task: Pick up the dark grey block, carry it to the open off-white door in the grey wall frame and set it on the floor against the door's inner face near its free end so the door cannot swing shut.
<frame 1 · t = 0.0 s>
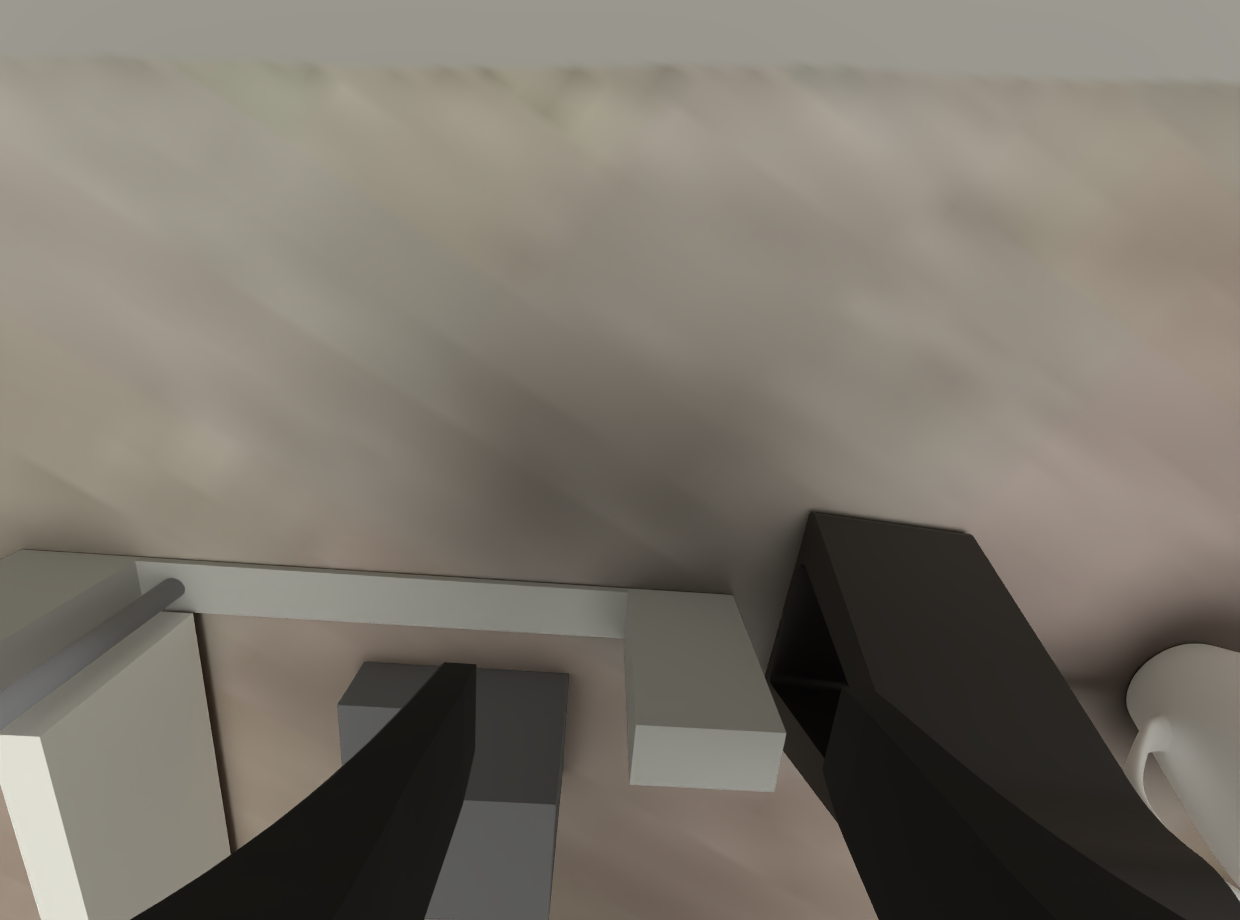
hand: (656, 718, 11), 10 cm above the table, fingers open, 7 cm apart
dark grey block: (504, 721, 24), on the table
phone stand: (853, 622, 23), on the table
wall: (625, 611, 22), on the table
mug: (1129, 682, 24), on the table
door: (120, 839, 21), point 3 cm above the table, hinge at 90.0°
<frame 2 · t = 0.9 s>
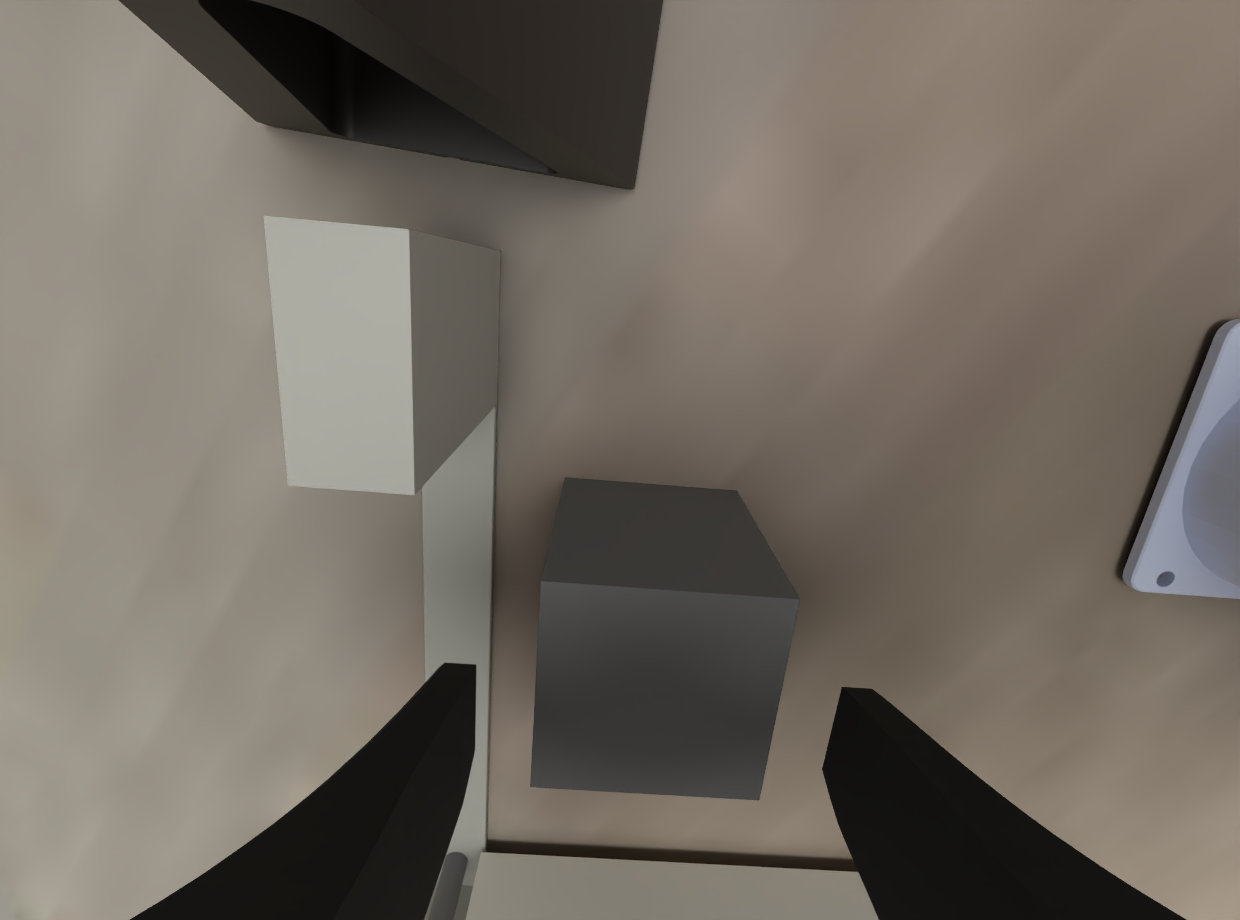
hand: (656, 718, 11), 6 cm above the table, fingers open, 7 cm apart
dark grey block: (643, 561, 18), on the table
phone stand: (465, 20, 14), on the table
wall: (460, 401, 16), on the table
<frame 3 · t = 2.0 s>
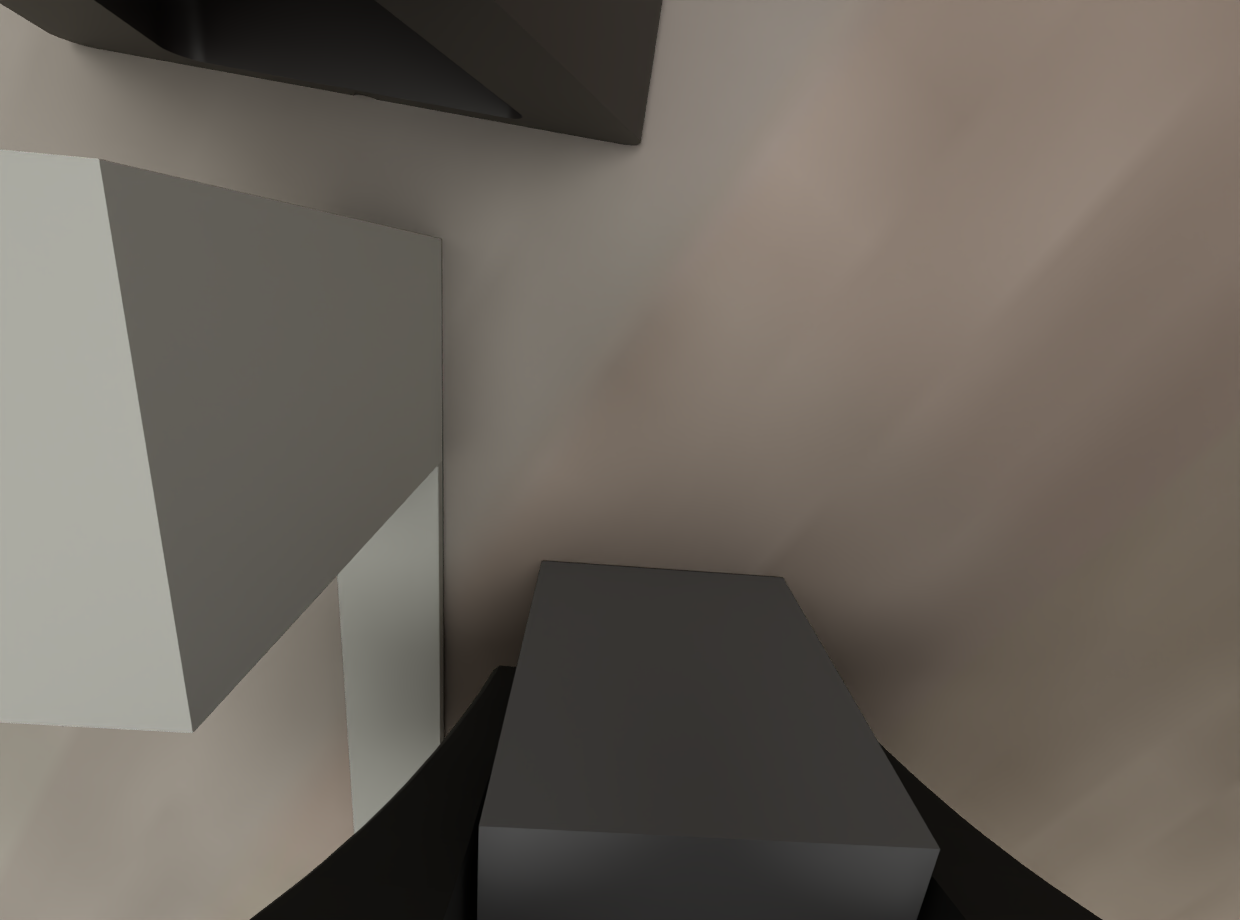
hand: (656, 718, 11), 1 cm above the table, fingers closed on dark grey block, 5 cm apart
dark grey block: (651, 671, 13), on the table, touching gripper
wall: (389, 456, 11), on the table
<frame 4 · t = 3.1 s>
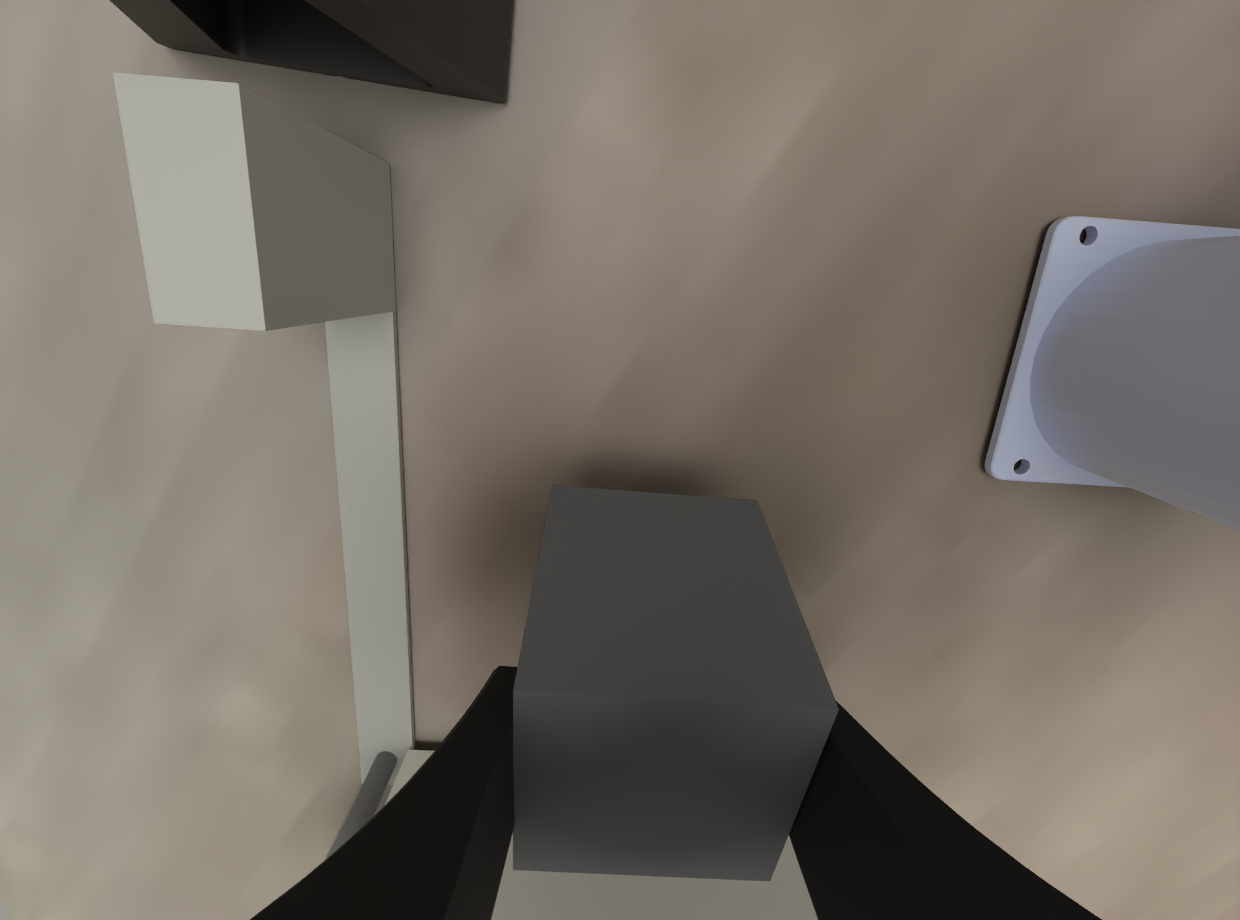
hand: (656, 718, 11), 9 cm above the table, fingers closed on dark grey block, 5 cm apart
dark grey block: (644, 573, 15), point 4 cm above the table, tilted 11°, touching gripper
wall: (362, 308, 17), on the table
door: (603, 862, 20), point 4 cm above the table, hinge at 90.0°
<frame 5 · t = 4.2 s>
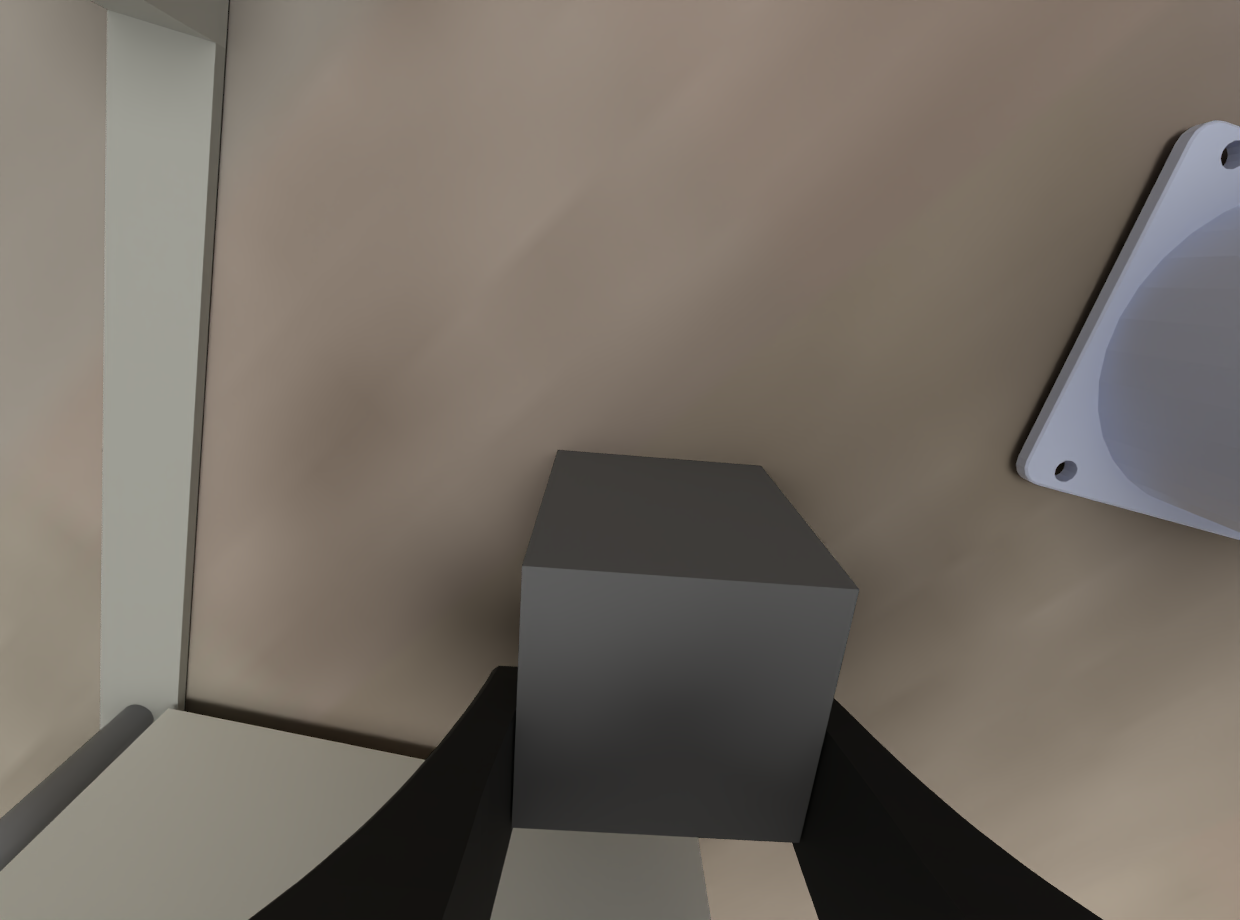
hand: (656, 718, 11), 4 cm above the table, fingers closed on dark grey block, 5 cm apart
dark grey block: (649, 549, 15), on the table, touching gripper
wall: (173, 32, 11), on the table
door: (396, 913, 14), point 3 cm above the table, hinge at 90.0°
when the fingers open (3 cm above the table, at t = 5.0 s): dark grey block stays where it is, on the table.
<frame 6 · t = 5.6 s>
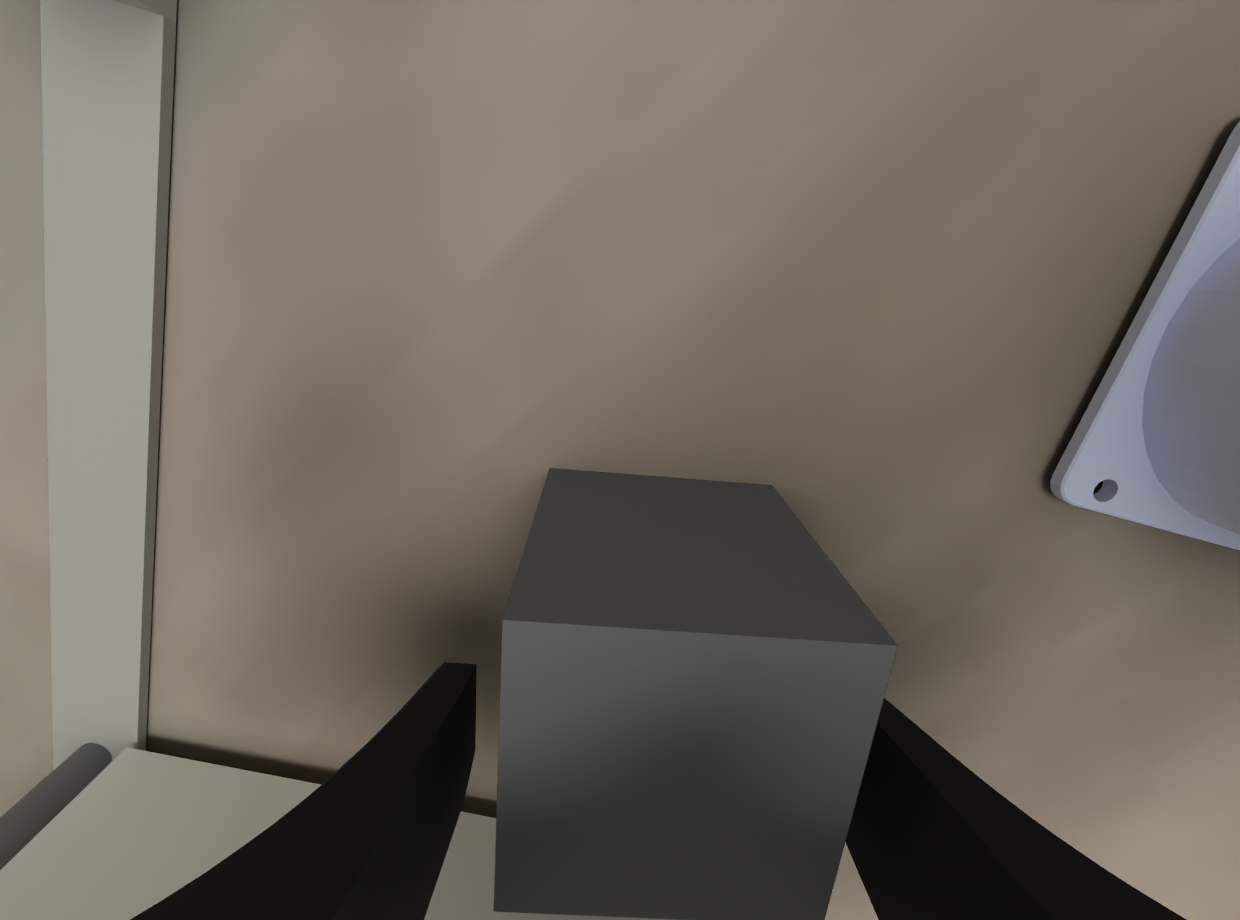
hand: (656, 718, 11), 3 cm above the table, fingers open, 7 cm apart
dark grey block: (650, 576, 14), on the table
wall: (116, 4, 10), on the table
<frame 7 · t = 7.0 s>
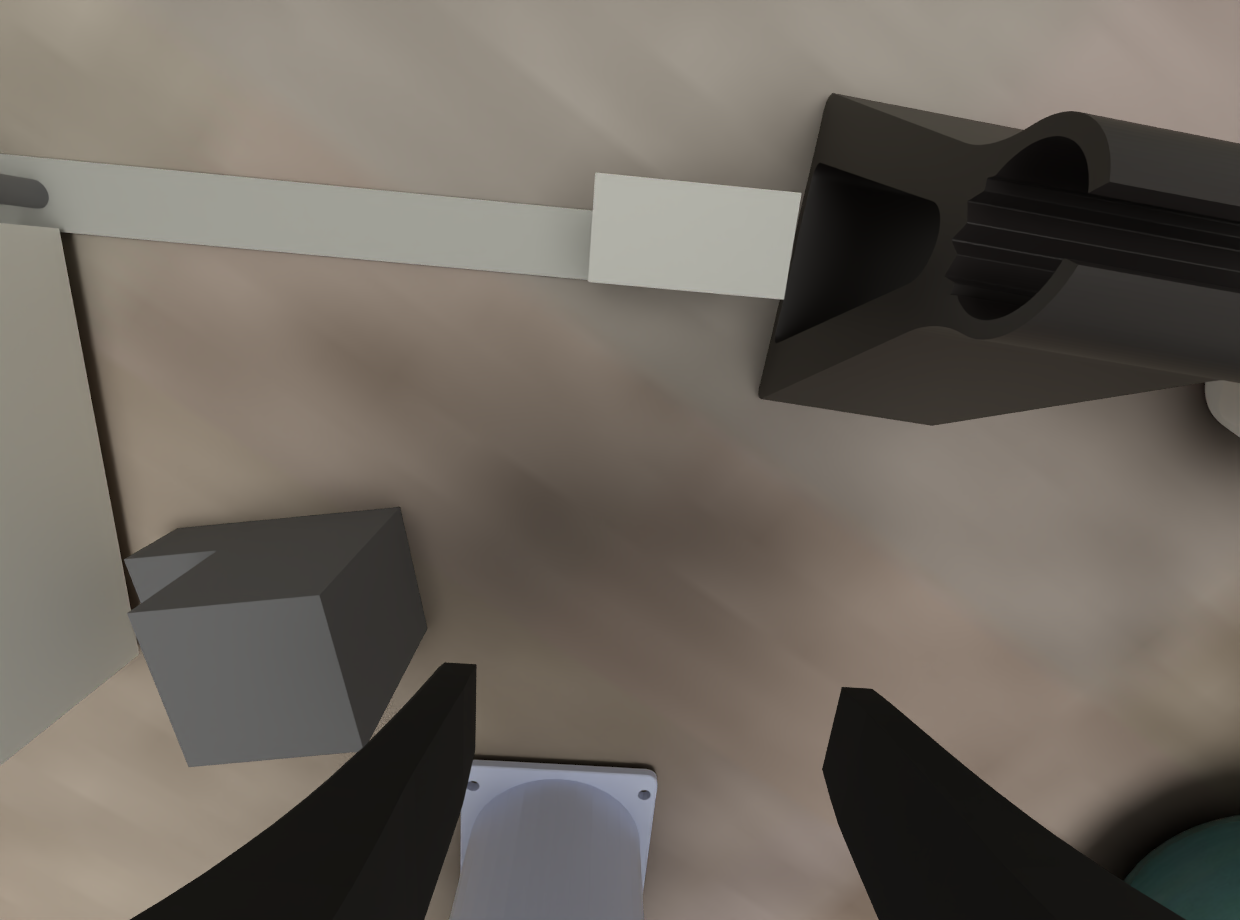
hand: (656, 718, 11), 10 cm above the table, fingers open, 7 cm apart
vase: (1200, 876, 27), on the table
dark grey block: (346, 576, 21), on the table
phone stand: (877, 273, 19), on the table
wall: (598, 246, 18), on the table
mug: (1209, 366, 20), on the table
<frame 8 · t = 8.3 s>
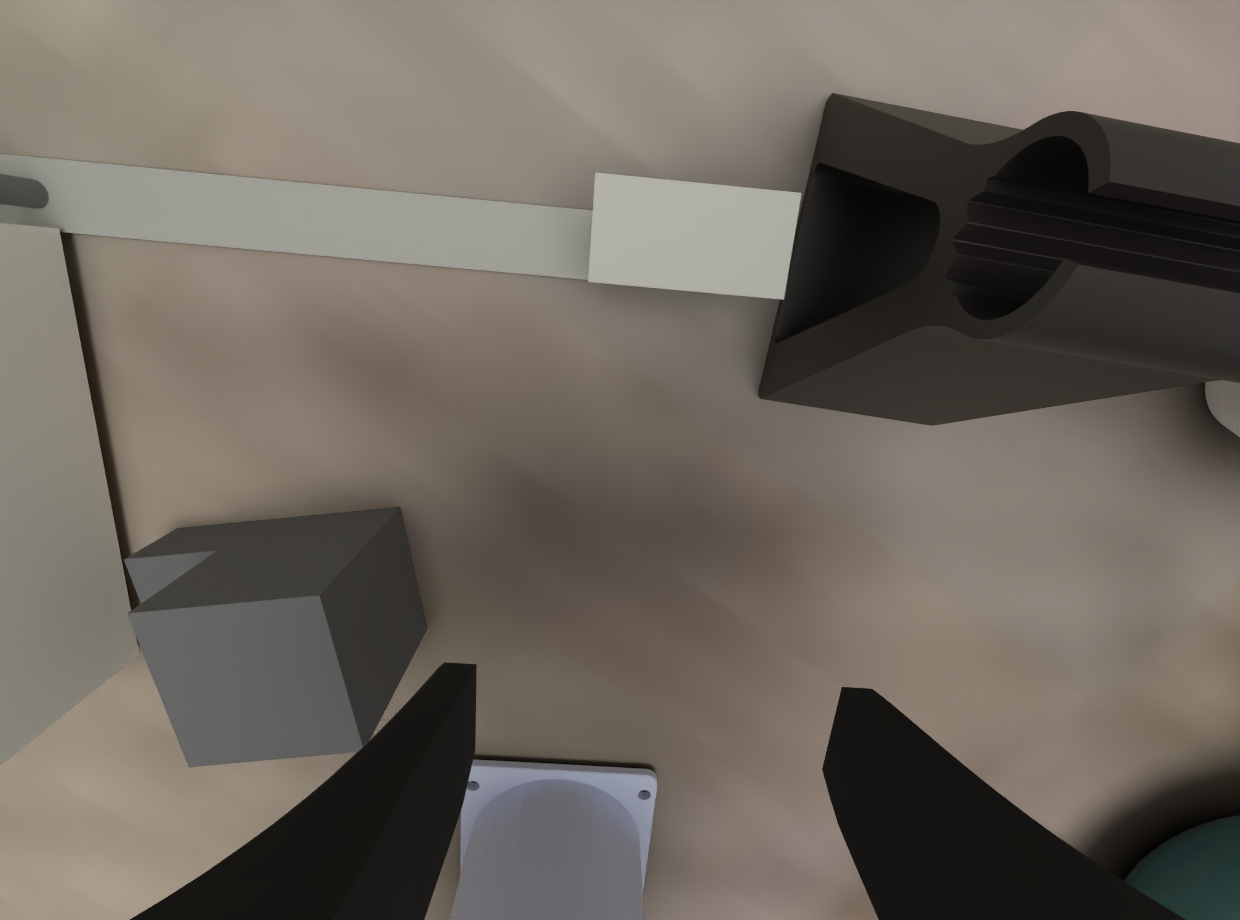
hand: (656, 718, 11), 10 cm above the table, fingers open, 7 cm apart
vase: (1200, 876, 27), on the table
dark grey block: (346, 576, 21), on the table
phone stand: (877, 273, 19), on the table
wall: (598, 246, 18), on the table
mug: (1209, 366, 20), on the table
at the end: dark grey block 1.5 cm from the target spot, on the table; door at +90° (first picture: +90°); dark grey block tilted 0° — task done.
